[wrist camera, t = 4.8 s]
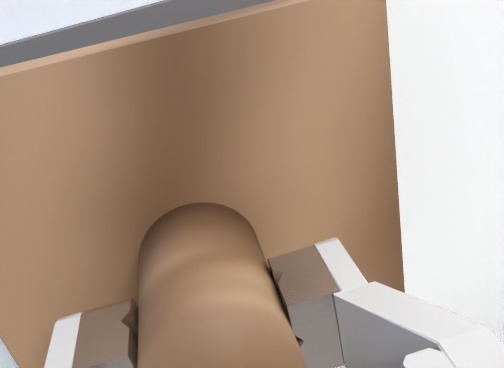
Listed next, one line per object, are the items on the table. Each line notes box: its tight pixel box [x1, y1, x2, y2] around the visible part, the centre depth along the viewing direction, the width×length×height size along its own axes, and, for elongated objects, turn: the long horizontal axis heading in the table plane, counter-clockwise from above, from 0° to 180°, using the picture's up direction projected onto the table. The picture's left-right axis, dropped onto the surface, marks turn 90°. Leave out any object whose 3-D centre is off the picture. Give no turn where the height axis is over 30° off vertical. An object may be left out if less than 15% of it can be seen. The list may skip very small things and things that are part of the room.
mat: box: [0, 0, 275, 68], centre depth 15 cm, size 12×12×1 cm
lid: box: [0, 0, 405, 368], centre depth 10 cm, size 10×10×5 cm
